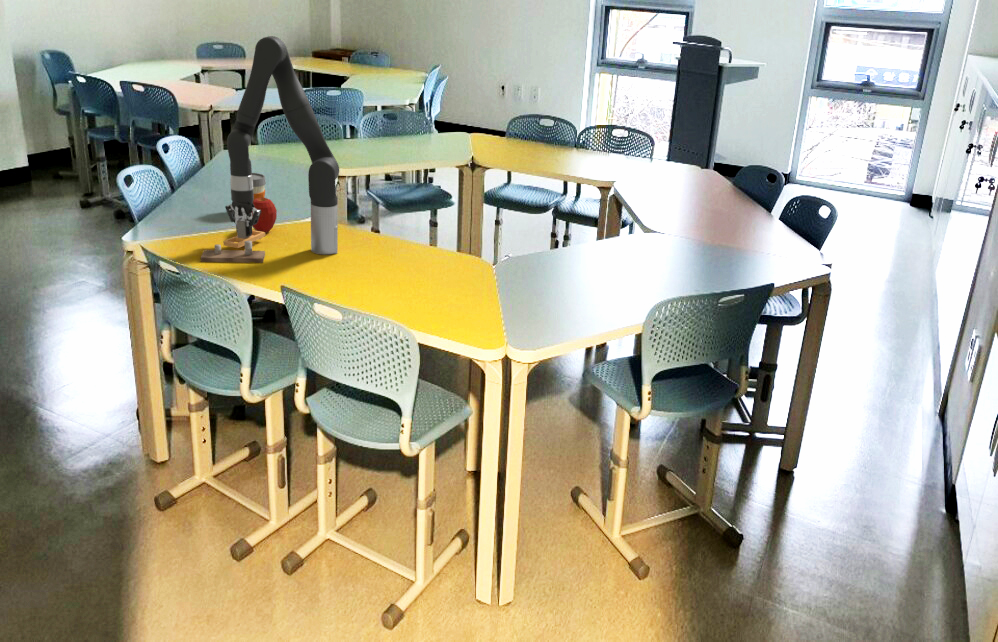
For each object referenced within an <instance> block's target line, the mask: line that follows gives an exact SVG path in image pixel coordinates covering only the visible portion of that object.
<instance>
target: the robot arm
mask: <svg viewBox="0 0 998 642" xmlns="http://www.w3.org/2000/svg"><path fill="white" fill-rule="evenodd" d="M253 54H254V55H253V59H252V66H251V70H250V74H249V77H248V80H247V81H248V82H247V83H246V87H245V90H244V93H243V95H242V97H241V98H242V99H241V101H240V103H239V107H238V108H237V112H236V120H235V121H234V125H233V127H232V130H231V131H230V133H229V134H228V136H227V137H226V138H227V139H226V146H227V152H228V158H229V169H230V170H229V172H230V179H229V180H230V182H229V183H230V196H231V197H230V199H231V201H232V202H231V204H227V205H225V206H224V207H225V211H226V213H227V215H228V217H229V220H230V222H231V223H234V224H235V229H236V230H235V231H236V232H237V221H238V220H241V219H243V218H244V220H245V223H246V236H248V237H249V236H251V234H252V230H253V225H255V224H257V222H258V219H259V217H260V214H261V210H257V209H256V208H254V204H253V200H254V192H253V179H252V173H253V172H252V170H253V169H252V161H251V159H250V154H249V153H250V152H249V150H250V149H249V146H250V145H251V142H252V141H253V138H254V137H253V136H254V133H255V130H256V125H257V124H258V121H259V119H260V116H261V113H262V110H263V108H264V104H265V100H266V96H267V95H266V93H267V89H268V85H269V82H270V80H271V77H273V80H274V83H275V85H276V89H277V93H278V98H279V102H280V106H281V110H282V111H283V113H284V116H285V119H286V121H287V122H288V124H289V127H290V129H292V131H293V133H294V134H295V135H296V136H297V138H298V139H299V141H301V143H302V144H303V145H304V147H305V148H306V151H307V154H308V156H309V159H310V162H311V164H310V166H309V168H308V173H307V174H308V178H307V179H308V195H309V200H310V251H311V253H314V254H317V255H332V254H338V240H339V239H338V235H339V233H338V230H339V229H338V226H339V225H338V224H339V223H338V196H337V194H336V192H337V191H336V180H337V179H338V177H339V175H340V166H339V164H338V161H337V160H336V157H335V156H334V154H333V152H332V151H331V148H330V147H329V145H328V143H327V142H326V139H325V137H324V134H323V131H322V129H321V127H320V124H319V122H318V120H317V117H316V115H315V112H314V110H313V108H312V104H311V102H310V101H309V99H308V97H307V94H306V92H305V90H304V88H303V86H302V84H301V82H300V80H299V79H298V76H297V74H296V71H295V69H294V67H293V63H292V60H291V56H290V54H289V51H288V47H287V45H286V43H284V41H283V40H282V39H281V38H279V37H278V36H274V35H270V36H269V35H268V36H265V37H262V38H260V39H258V41H257V42H256V44H255V48H254V53H253ZM252 211H253V213H252ZM252 214H253V217H252Z"/></svg>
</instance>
